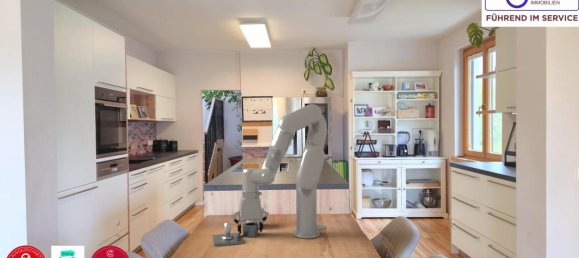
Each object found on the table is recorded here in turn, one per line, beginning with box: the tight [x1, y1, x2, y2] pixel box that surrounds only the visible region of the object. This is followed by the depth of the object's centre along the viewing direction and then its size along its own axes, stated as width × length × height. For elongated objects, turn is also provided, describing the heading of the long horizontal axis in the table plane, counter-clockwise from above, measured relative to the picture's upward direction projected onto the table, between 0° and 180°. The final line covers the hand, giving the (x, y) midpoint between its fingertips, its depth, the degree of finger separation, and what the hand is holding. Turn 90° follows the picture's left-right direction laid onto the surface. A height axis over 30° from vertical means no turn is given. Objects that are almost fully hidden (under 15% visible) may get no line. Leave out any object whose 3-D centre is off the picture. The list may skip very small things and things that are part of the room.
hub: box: [242, 222, 259, 238], centre depth 152 cm, size 7×7×5 cm
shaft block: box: [212, 221, 244, 247], centre depth 144 cm, size 12×12×8 cm
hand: (250, 232), depth 152 cm, fingers open, 9 cm apart
